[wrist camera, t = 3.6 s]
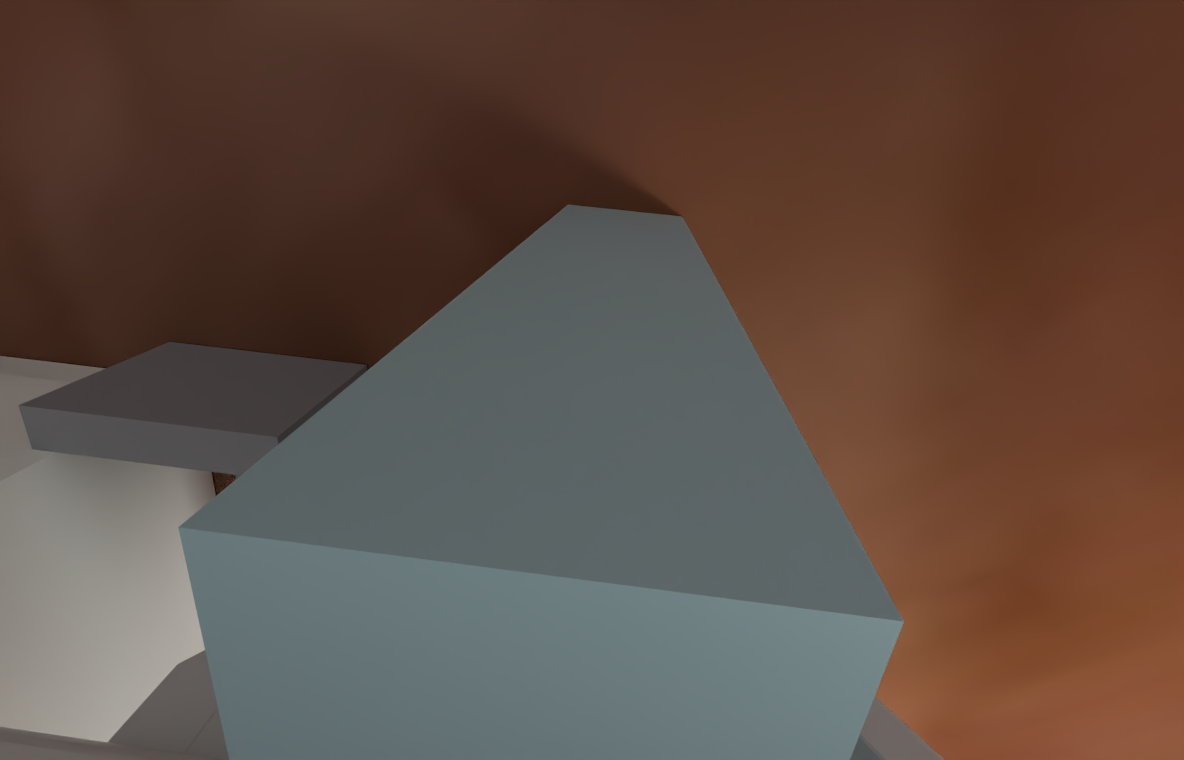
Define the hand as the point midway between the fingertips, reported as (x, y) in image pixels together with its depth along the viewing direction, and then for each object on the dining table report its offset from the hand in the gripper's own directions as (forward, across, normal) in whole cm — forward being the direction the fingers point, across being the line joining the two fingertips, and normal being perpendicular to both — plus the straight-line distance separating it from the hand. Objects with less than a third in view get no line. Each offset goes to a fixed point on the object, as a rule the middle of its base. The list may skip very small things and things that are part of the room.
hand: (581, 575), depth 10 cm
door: (+6, 0, 0) cm, 6 cm away
